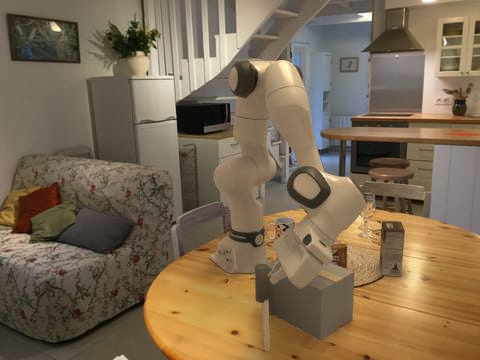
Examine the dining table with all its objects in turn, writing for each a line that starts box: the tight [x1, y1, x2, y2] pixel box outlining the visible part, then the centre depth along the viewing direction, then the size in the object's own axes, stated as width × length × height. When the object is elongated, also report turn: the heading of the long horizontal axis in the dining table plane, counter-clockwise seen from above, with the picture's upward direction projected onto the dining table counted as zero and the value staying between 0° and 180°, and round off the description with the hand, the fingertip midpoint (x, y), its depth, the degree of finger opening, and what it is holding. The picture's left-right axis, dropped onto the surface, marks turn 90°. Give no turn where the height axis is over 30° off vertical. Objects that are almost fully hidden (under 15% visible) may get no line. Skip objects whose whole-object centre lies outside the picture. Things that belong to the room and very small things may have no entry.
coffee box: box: [379, 220, 406, 277], centre depth 140 cm, size 9×6×16 cm
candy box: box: [331, 240, 348, 269], centre depth 129 cm, size 9×4×15 cm, turn 96°
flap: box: [254, 264, 270, 352], centre depth 108 cm, size 19×3×21 cm, turn 0°
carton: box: [266, 257, 355, 342], centre depth 116 cm, size 20×14×14 cm
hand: (270, 280), depth 99 cm, fingers closed, pressing on flap
